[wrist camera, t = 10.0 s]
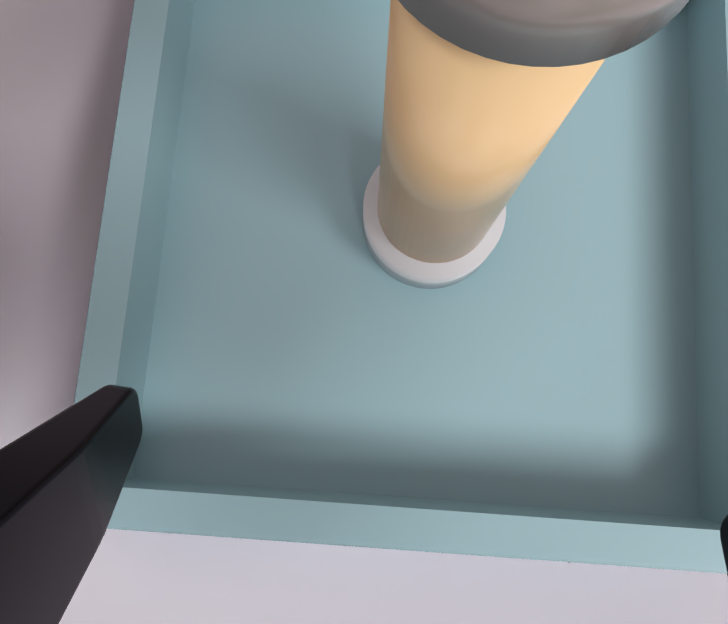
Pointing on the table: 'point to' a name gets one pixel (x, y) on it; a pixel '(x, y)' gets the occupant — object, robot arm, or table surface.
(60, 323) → the table surface
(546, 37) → the fuse
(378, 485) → the parts tray
